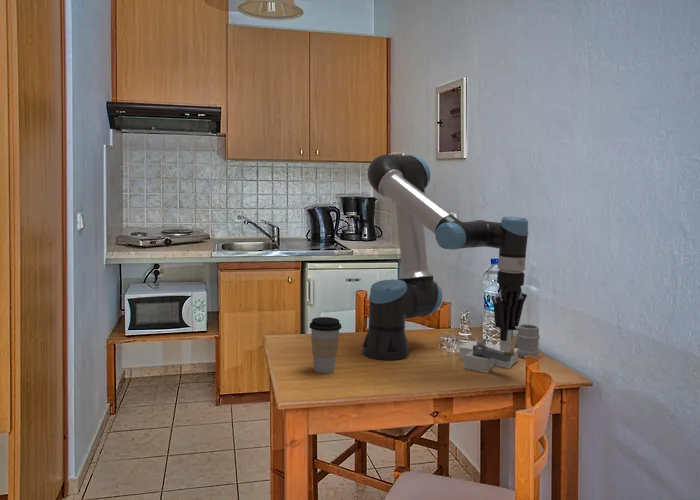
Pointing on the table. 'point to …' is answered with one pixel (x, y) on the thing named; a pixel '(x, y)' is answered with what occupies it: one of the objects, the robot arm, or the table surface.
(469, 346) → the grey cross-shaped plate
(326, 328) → the coffee cup
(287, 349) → the table surface
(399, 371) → the table surface
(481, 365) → the block
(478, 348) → the latch arm
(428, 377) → the table surface
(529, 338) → the mug
